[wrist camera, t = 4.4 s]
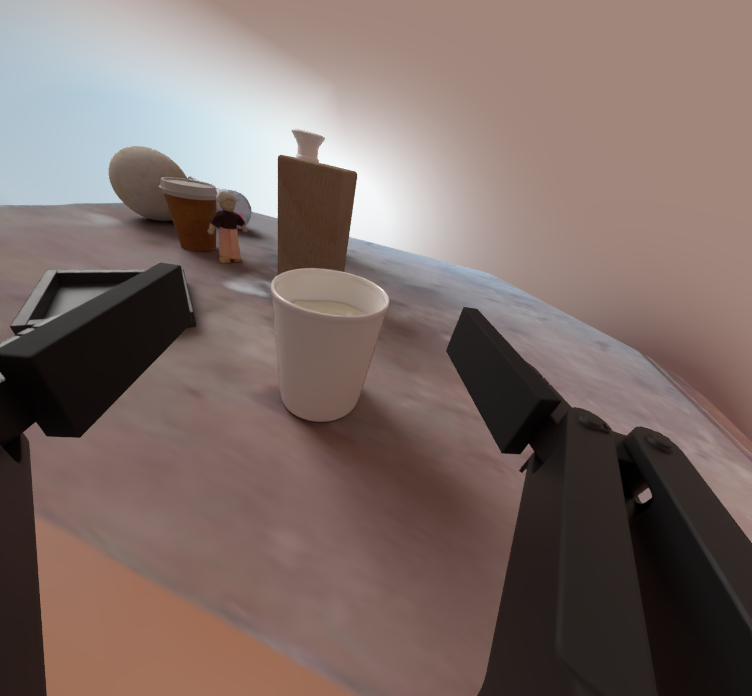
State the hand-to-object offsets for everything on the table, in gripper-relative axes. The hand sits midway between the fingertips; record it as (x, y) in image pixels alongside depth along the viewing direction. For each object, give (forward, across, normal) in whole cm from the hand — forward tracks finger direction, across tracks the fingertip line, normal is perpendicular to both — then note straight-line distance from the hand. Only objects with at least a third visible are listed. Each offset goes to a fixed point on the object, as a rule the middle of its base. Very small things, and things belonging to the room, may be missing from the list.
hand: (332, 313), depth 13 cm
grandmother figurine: (+46, -21, -14) cm, 53 cm away
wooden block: (+41, -4, -15) cm, 43 cm away
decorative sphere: (+67, -44, -14) cm, 81 cm away
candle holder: (+10, 0, -15) cm, 18 cm away
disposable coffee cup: (+51, -29, -14) cm, 60 cm away
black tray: (+23, -26, -14) cm, 38 cm away
